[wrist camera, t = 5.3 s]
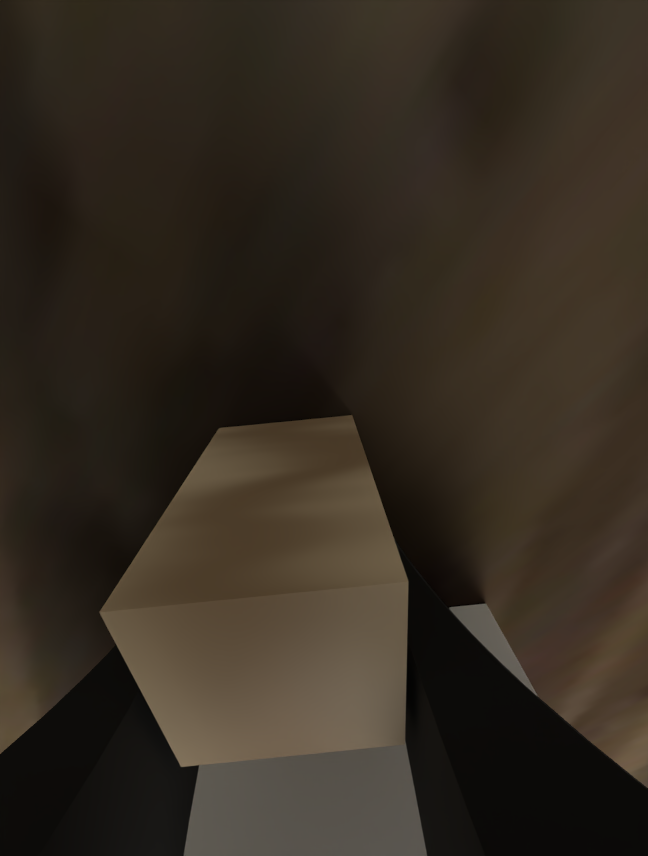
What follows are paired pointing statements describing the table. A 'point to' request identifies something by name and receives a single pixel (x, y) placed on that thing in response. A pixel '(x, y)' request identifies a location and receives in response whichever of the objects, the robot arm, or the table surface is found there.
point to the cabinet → (323, 792)
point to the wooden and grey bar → (270, 601)
